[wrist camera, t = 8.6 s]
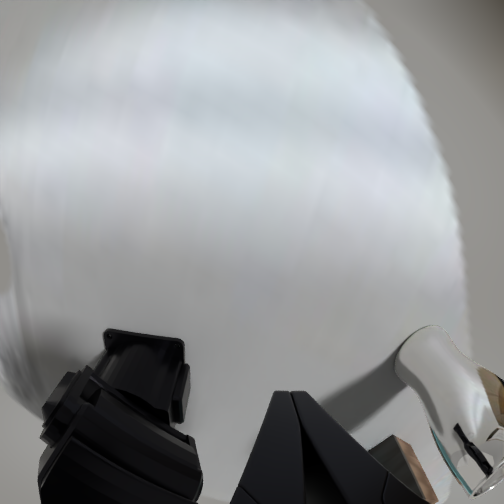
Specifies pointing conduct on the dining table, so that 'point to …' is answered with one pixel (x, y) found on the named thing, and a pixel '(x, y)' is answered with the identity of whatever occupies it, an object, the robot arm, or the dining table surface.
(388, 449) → the block
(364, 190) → the dining table surface
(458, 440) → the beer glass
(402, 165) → the dining table surface
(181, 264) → the dining table surface
